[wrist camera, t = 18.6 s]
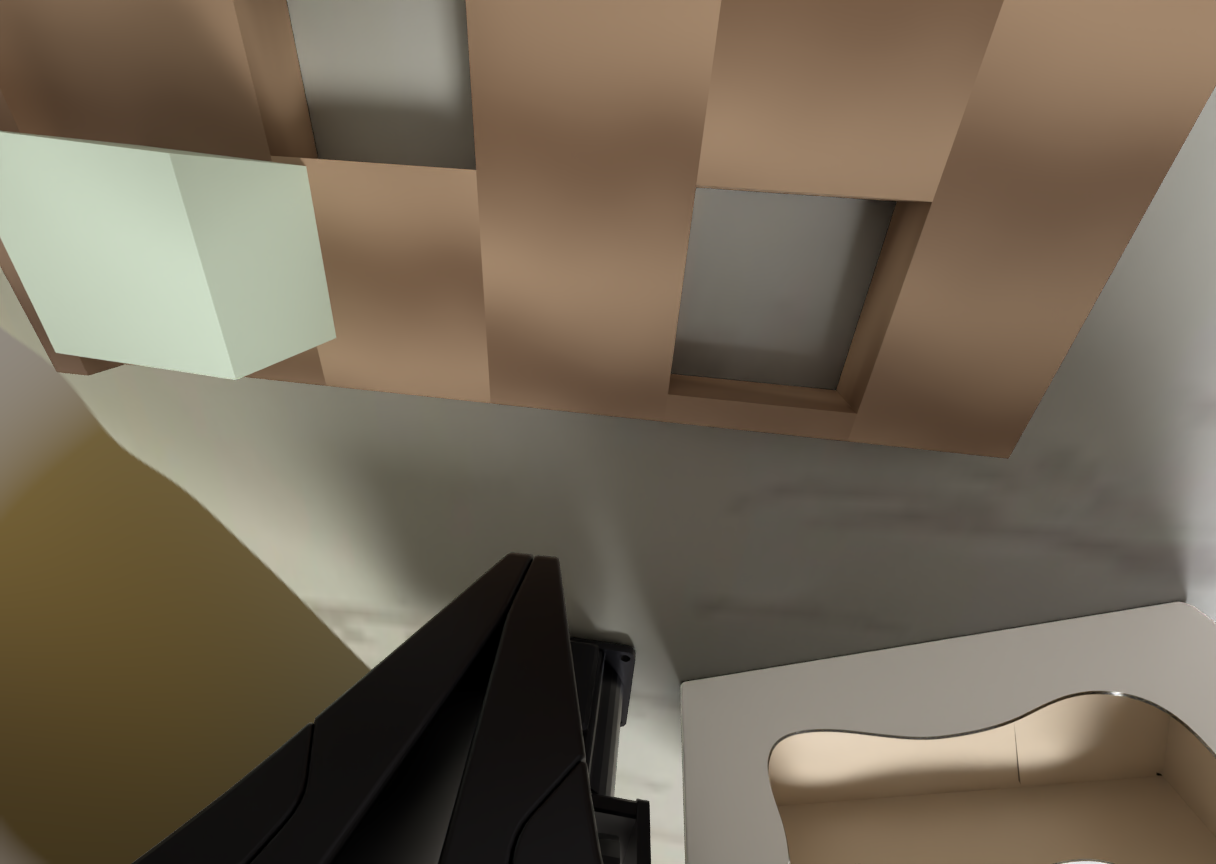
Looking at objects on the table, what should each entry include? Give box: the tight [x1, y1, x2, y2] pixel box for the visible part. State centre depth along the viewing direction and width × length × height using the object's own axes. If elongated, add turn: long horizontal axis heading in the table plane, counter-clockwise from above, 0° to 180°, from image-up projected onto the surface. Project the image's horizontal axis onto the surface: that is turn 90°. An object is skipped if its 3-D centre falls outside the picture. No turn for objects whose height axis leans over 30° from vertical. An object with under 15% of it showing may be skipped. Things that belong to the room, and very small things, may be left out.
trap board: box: [0, 0, 1216, 458], centre depth 13 cm, size 14×32×3 cm, turn 87°
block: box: [0, 131, 336, 380], centre depth 12 cm, size 5×5×4 cm
